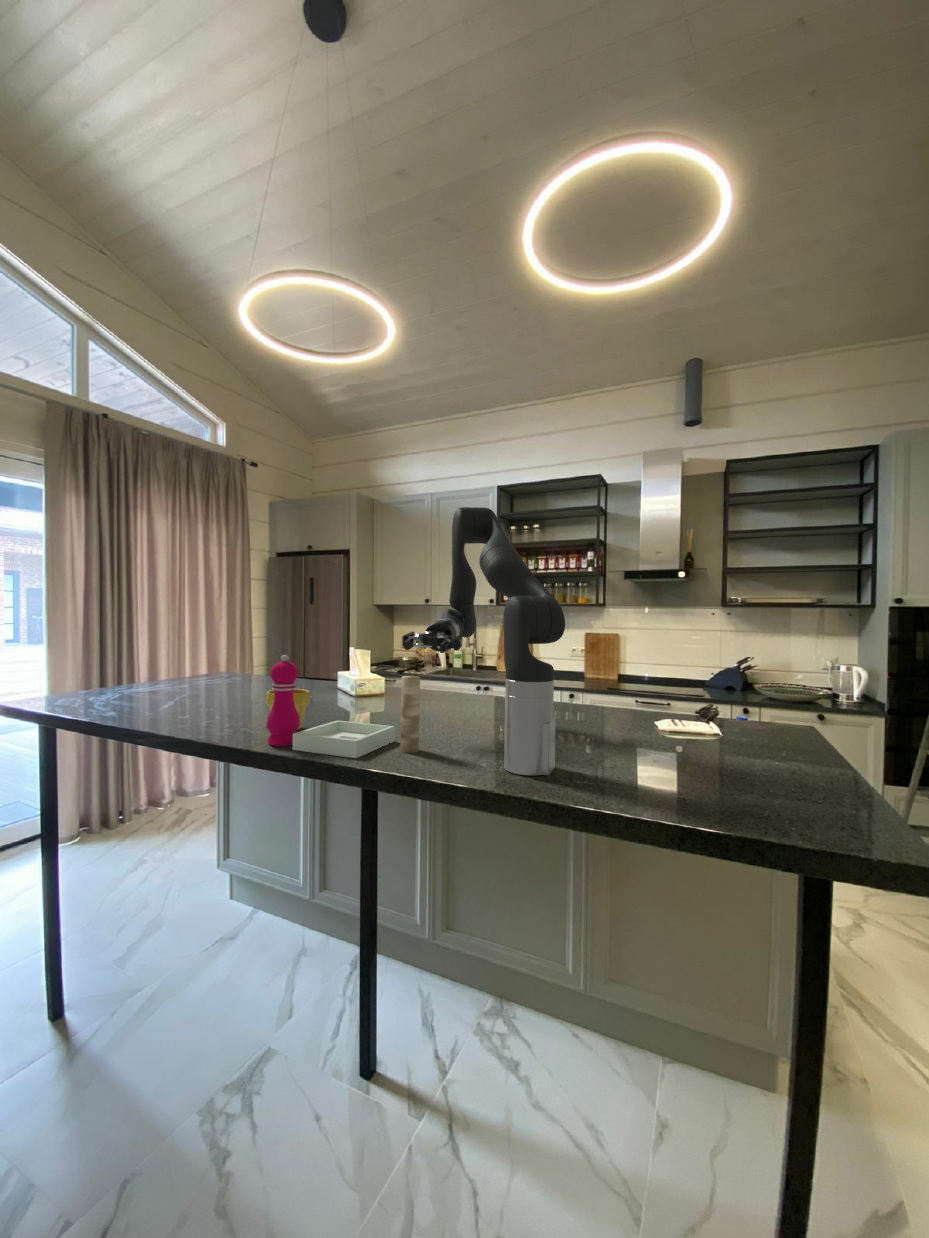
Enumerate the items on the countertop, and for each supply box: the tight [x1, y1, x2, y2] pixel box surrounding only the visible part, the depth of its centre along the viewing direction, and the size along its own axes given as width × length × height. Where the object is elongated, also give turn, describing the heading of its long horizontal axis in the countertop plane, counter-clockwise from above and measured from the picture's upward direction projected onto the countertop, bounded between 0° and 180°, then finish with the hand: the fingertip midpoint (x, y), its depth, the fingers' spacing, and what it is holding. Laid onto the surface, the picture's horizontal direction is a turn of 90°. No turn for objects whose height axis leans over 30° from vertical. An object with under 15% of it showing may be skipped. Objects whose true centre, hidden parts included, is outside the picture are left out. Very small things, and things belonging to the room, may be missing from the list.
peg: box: [399, 675, 421, 754], centre depth 108 cm, size 4×4×16 cm
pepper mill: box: [265, 654, 300, 747], centre depth 113 cm, size 7×7×20 cm
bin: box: [292, 720, 396, 759], centre depth 111 cm, size 16×16×4 cm
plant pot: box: [265, 688, 310, 731], centre depth 127 cm, size 10×10×10 cm
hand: (423, 647), depth 115 cm, fingers open, 8 cm apart
